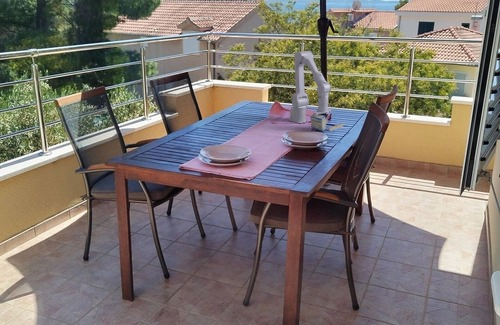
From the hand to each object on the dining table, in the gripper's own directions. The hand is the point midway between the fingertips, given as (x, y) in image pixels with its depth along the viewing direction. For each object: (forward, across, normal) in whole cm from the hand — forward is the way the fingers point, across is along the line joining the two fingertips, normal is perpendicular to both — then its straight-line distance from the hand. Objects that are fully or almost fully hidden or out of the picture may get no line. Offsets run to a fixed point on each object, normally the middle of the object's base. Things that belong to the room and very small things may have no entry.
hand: (321, 125), depth 297 cm
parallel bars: (+2, +7, 0) cm, 7 cm away
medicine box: (+1, -2, 0) cm, 3 cm away
